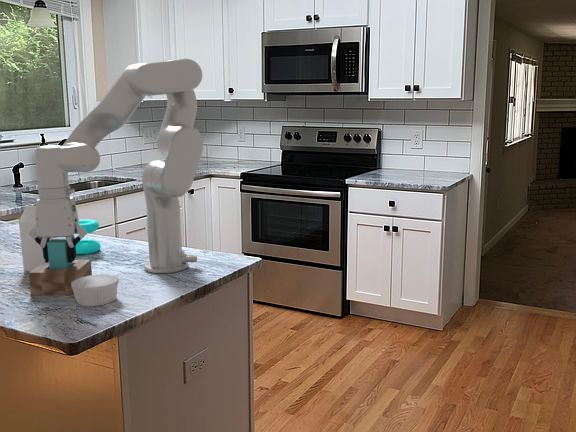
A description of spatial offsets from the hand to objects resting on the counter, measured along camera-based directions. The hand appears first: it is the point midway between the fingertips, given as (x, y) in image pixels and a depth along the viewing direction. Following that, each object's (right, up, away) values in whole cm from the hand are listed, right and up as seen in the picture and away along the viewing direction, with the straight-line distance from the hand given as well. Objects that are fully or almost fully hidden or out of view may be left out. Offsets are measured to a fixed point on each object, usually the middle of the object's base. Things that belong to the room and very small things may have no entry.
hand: (60, 260), depth 163 cm
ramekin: (+12, -10, -9) cm, 18 cm away
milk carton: (-13, -4, +19) cm, 23 cm away
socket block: (0, -7, +1) cm, 7 cm away
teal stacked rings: (-6, 0, +39) cm, 39 cm away
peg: (0, -6, +1) cm, 6 cm away
